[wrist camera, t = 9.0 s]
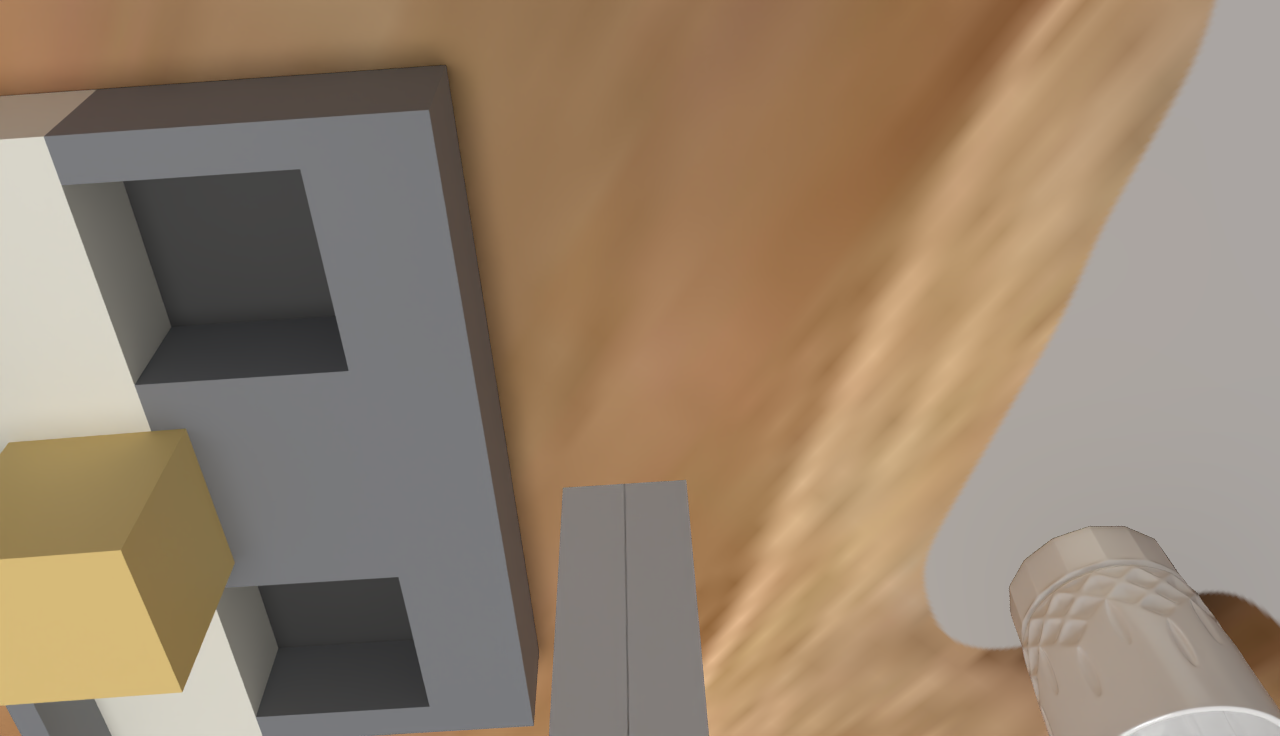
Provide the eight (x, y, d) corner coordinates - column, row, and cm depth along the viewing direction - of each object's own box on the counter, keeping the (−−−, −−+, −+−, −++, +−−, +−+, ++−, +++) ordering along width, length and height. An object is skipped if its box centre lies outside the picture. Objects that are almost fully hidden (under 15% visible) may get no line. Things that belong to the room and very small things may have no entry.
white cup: (989, 530, 46) (1073, 728, 38) (1187, 496, 46) (1317, 690, 37) (997, 662, 51) (1074, 867, 42) (1178, 633, 50) (1293, 835, 41)
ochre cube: (185, 428, 38) (120, 550, 33) (235, 562, 41) (182, 692, 36) (8, 442, 38) (-84, 566, 33) (71, 575, 41) (-4, 706, 36)
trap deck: (446, 65, 36) (413, 150, 30) (538, 651, 50) (529, 788, 44) (-124, 104, 36) (-268, 197, 30) (129, 676, 50) (64, 816, 44)
